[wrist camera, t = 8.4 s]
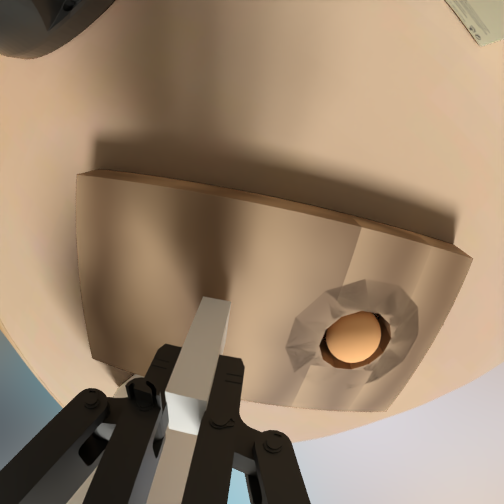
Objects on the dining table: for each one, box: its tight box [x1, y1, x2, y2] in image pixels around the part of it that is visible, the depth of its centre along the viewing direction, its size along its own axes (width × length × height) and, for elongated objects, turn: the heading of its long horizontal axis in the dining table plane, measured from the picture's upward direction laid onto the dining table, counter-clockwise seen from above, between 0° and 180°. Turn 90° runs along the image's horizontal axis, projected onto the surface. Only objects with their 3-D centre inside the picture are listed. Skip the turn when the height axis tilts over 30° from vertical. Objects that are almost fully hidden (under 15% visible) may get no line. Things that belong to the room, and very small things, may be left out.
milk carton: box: [66, 374, 198, 504], centre depth 14 cm, size 7×7×19 cm
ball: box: [326, 311, 381, 363], centre depth 17 cm, size 4×4×4 cm
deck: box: [76, 169, 473, 412], centre depth 17 cm, size 24×14×2 cm, turn 79°
